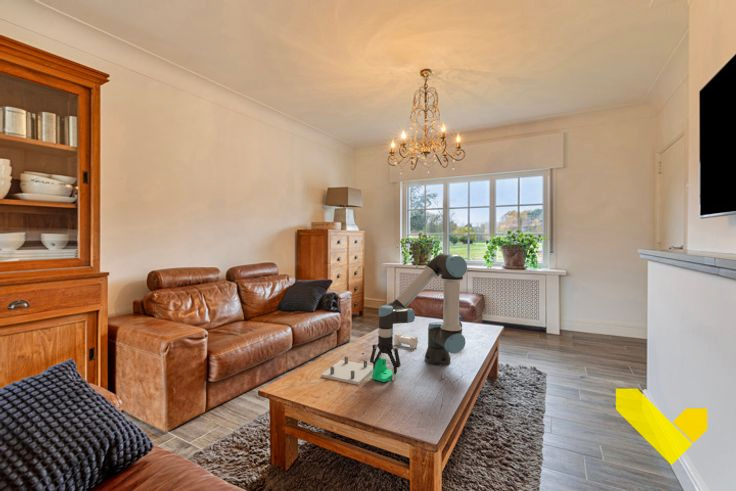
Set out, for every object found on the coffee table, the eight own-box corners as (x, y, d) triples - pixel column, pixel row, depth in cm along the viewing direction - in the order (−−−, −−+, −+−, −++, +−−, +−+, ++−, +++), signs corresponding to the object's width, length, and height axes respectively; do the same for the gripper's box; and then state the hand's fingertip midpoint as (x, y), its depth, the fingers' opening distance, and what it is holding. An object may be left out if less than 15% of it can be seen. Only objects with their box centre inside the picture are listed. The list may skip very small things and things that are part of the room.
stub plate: (375, 368, 190) (375, 360, 190) (358, 384, 170) (359, 375, 170) (340, 362, 199) (341, 353, 199) (321, 376, 179) (321, 367, 179)
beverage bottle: (448, 345, 231) (449, 316, 230) (450, 341, 239) (450, 313, 238) (461, 347, 228) (462, 317, 227) (462, 343, 236) (463, 314, 235)
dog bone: (418, 347, 228) (419, 335, 228) (412, 350, 220) (413, 337, 221) (398, 343, 236) (399, 331, 236) (392, 345, 229) (393, 333, 229)
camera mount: (384, 384, 171) (384, 364, 171) (371, 380, 176) (372, 360, 176) (396, 376, 181) (397, 357, 181) (384, 372, 186) (385, 354, 185)
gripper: (407, 336, 176) (406, 378, 177) (369, 330, 185) (368, 371, 186) (403, 340, 170) (402, 384, 171) (363, 334, 178) (363, 376, 179)
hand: (384, 377), depth 178 cm, fingers open, 9 cm apart
